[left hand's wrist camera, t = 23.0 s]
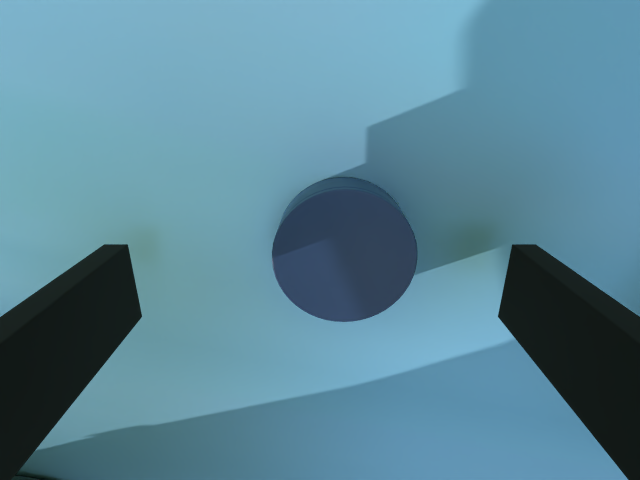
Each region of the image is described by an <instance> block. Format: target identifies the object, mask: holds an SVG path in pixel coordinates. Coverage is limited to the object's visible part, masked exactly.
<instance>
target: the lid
mask: <svg viewBox="0 0 640 480" xmlns="http://www.w3.org/2000/svg"><path fill="white" fill-rule="evenodd" d="M272 263H273V270H274V273H275V277H276V279H277V281H278V283H279V285H280V287H281V289H282V290H283V292H284V293H285V294H286V296H287V297H288V298H289V299H290V300H291V301H292V302H293V303H294V304H295V305H296V306H298V307H299V308H300V309H302V310H303V311H305V312H307V313H309V314H311V315H313V316H316V317H318V318H322V319H325V320H330V321H339V322H348V321H357V320H362V319H366V318H369V317H372V316H374V315H377V314H379V313H381V312H382V311H384V310H386V309H387V308H389V307H390V306H391V305H393V304H394V303H395V302H396V301H397V300H398V299H399V298H400V297H401V296H402V295H403V293H404V292H405V291H406V289H407V288H408V286H409V284H410V282H411V280H412V278H413V276H414V272H415V269H416V263H417V245H416V240H415V237H414V233H413V231H412V229H411V227H410V225H409V223H408V221H407V220H406V218H405V216H404V215H403V213H402V211H401V210H400V208H399V207H398V205H397V203H396V202H395V201H394V200H393V199H392V197H391V196H390V195H389V194H387V193H386V192H385V191H384V190H382V189H381V188H379V187H378V186H376V185H374V184H372V183H370V182H367V181H364V180H361V179H356V178H348V177H339V178H331V179H326V180H323V181H320V182H317V183H315V184H313V185H311V186H309V187H308V188H306V189H305V190H303V191H302V192H301V193H299V194H298V195H297V196H296V197H295V198H294V199H293V201H292V202H291V203H290V204H289V206H288V207H287V209H286V210H285V213H284V215H283V217H282V219H281V222H280V225H279V228H278V230H277V233H276V236H275V239H274V243H273V249H272Z"/></svg>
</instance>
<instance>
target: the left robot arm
mask: <svg viewBox="0 0 640 480" xmlns="http://www.w3.org/2000/svg"><path fill="white" fill-rule="evenodd" d="M141 317H142V314H141V309H140V304H139V299H138V294H137V289H136V284H135V279H134V274H133V269H132V264H131V259H130V254H129V249H128V245H103V246H102V247H100V248H99V249H97V250H96V251H94V252H93V253H92V254H90V255H89V256H87V257H86V258H84V259H83V260H81V261H80V262H79V263H77V264H76V265H74V266H73V267H71V268H70V269H69V270H67V271H66V272H64V273H63V274H61V275H60V276H59V277H57V278H56V279H54V280H53V281H51V282H50V283H48V284H47V285H46V286H44V287H43V288H41V289H40V290H38V291H37V292H36V293H34V294H33V295H31V296H30V297H28V298H27V299H26V300H24V301H23V302H21V303H20V304H18V305H17V306H15V307H14V308H13V309H11V310H10V311H8V312H7V313H5V314H4V315H3V316H1V317H0V480H39V479H34V478H29V477H22V476H15V475H16V473H17V472H18V471H19V470H20V468H21V467H22V466H23V465H24V463H25V462H26V461H27V460H28V458H29V457H30V456H31V455H32V453H33V452H34V451H35V450H36V448H37V447H38V446H39V445H40V443H41V442H42V441H43V440H44V438H45V437H46V436H47V435H48V433H49V432H50V431H51V430H52V428H53V427H54V426H55V425H56V423H57V422H58V421H59V420H60V418H61V417H62V416H63V415H64V413H65V412H66V411H67V410H68V408H69V407H70V406H71V405H72V403H73V402H74V401H75V400H76V398H77V397H78V396H79V395H80V393H81V392H82V391H83V390H84V388H85V387H86V386H87V385H88V383H89V382H90V381H91V380H92V378H93V377H94V376H95V375H96V373H97V372H98V371H99V370H100V368H101V367H102V366H103V365H104V363H105V362H106V361H107V360H108V358H109V357H110V356H111V355H112V353H113V352H114V351H115V350H116V348H117V347H118V346H119V345H120V344H121V342H122V341H123V340H124V339H125V337H126V336H127V335H128V334H129V332H130V331H131V330H132V329H133V327H134V326H135V325H136V324H137V322H138V321H139V320H140V319H141ZM498 317H499V318H500V320H501V321H502V322H503V323H504V325H505V326H506V327H507V328H508V330H509V331H510V332H511V333H512V335H513V336H514V337H515V338H516V340H517V341H518V342H519V343H520V345H521V346H522V347H523V348H524V350H525V351H526V352H527V353H528V355H529V356H530V357H531V358H532V360H533V361H534V362H535V363H536V365H537V366H538V367H539V368H540V370H541V371H542V372H543V373H544V375H545V376H546V377H547V378H548V380H549V381H550V382H551V383H552V385H553V386H554V387H555V388H556V390H557V391H558V392H559V393H560V395H561V396H562V397H563V398H564V400H565V401H566V402H567V403H568V405H569V406H570V407H571V408H572V410H573V411H574V412H575V413H576V415H577V416H578V417H579V418H580V420H581V421H582V422H583V423H584V425H585V426H586V427H587V428H588V430H589V431H590V432H591V433H592V435H593V436H594V437H595V438H596V440H597V441H598V442H599V443H600V445H601V446H602V447H603V448H604V450H605V451H606V452H607V453H608V455H609V456H610V457H611V458H612V460H613V461H614V462H615V463H616V465H617V466H618V467H619V468H620V470H621V471H622V472H623V473H624V475H625V476H626V477H627V478H628V480H640V317H639V316H637V315H636V314H635V313H633V312H632V311H630V310H629V309H627V308H626V307H625V306H623V305H622V304H620V303H619V302H617V301H616V300H614V299H613V298H612V297H610V296H609V295H607V294H606V293H604V292H603V291H602V290H600V289H599V288H597V287H596V286H594V285H593V284H592V283H590V282H589V281H587V280H586V279H584V278H583V277H581V276H580V275H579V274H577V273H576V272H574V271H573V270H571V269H570V268H569V267H567V266H566V265H564V264H563V263H561V262H560V261H559V260H557V259H556V258H554V257H553V256H551V255H550V254H548V253H547V252H546V251H544V250H543V249H541V248H540V247H538V246H537V245H512V249H511V254H510V259H509V264H508V269H507V274H506V279H505V284H504V289H503V294H502V299H501V304H500V309H499V314H498Z"/></svg>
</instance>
